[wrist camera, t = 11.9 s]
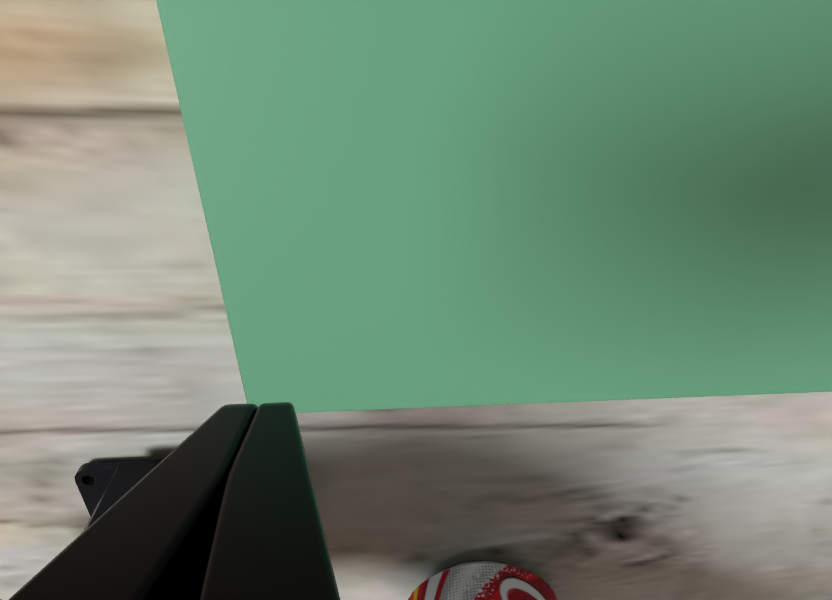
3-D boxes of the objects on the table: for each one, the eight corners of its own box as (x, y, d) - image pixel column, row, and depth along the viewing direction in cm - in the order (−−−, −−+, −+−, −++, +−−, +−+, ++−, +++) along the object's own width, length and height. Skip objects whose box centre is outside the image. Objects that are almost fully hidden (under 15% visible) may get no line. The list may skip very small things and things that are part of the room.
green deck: (1058, 303, 21) (1183, 377, 18) (274, 335, 22) (249, 414, 18) (1325, -186, 15) (1605, -216, 11) (188, -130, 15) (123, -144, 12)
